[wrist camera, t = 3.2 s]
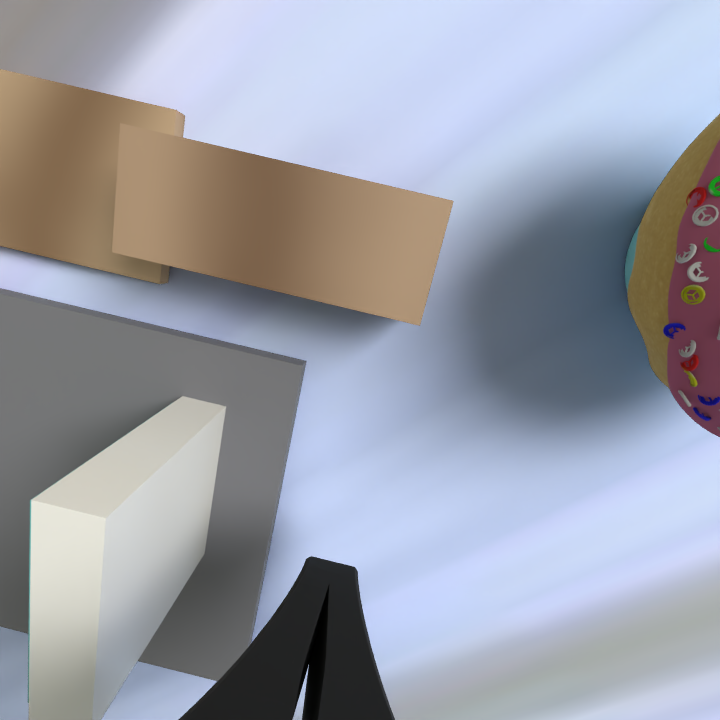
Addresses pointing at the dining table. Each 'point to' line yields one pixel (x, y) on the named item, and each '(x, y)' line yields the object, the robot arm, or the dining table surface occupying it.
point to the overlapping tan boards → (202, 205)
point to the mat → (116, 419)
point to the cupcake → (682, 279)
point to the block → (116, 556)
